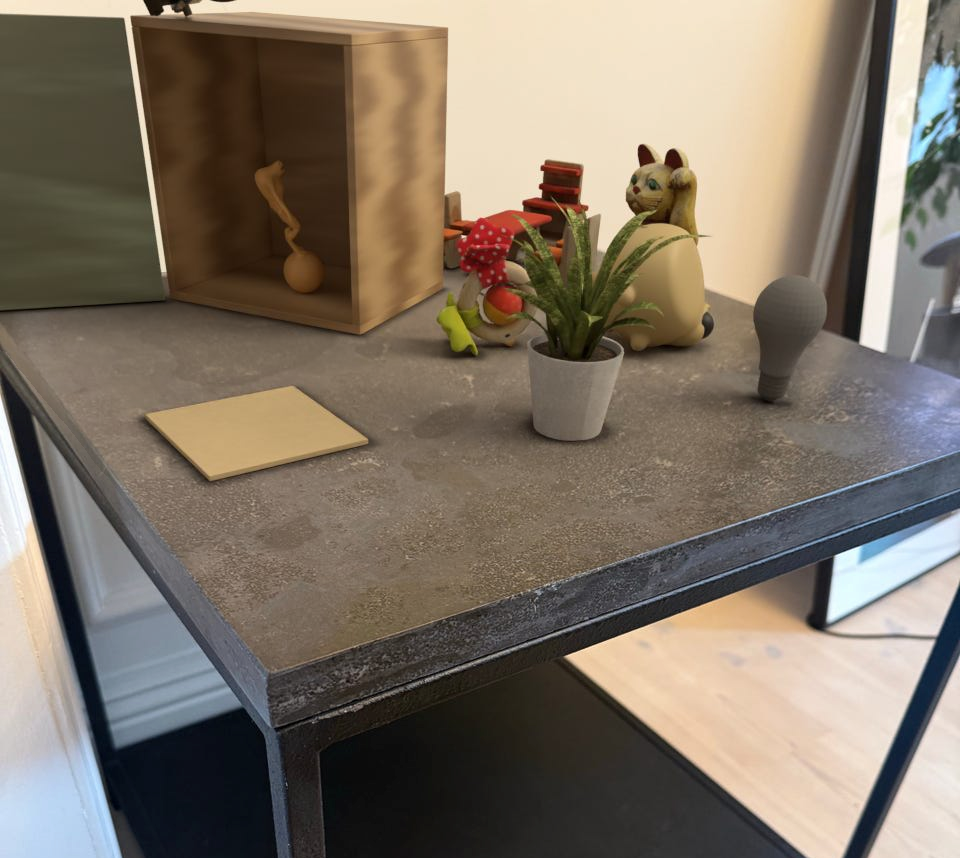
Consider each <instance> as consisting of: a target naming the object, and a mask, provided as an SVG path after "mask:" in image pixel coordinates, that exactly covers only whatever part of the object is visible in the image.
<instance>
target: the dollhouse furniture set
mask: <svg viewBox="0 0 960 858" xmlns="http://www.w3.org/2000/svg"><path fill="white" fill-rule="evenodd" d="M543 163H544V164H541V165H540V169H539V171H540V172H543V173H542V182H541V183H539V184H538V190H539V191H541V196H540V197H538V196H535V197H531V198H527V199H523V200H522V202H521V204H522V206H523V207H522V210H523V211H522V210H515V209H507V210H504V211H501V212H498V213H495V214H491V215H488V216H485V217H483V218H484V219H486V220H487V221H488V222H490V223H491V224H492V225H494V226H496V227H508V228H510V229H511V230H512V231H513V232H514V238H513V239H514V240H516V241H518V242H520V243H522V244H523V245H524V241H526V242H527V243H529V244H530V245H531V246H532V248H533V250H534V253H535V255H536V256H537V258H538V259H539V260H540V261H541V262H542V259H541V257H540V254H539V252H538V250H537V248H536V246H535V244H534V242H533V241H532V239H531V237H530V235H529V234H528V232H527V231H526V229H525V228H524V227H523V225H522V224H521V223H520V222H519V220H518V219H517V218H515V217H514V216H513V215H512V214H515V215H517V216H519V217H521V218H523V219H524V220H525V221H527V222H528V223H529V224H530V225H531V226H532V227H533V228H534V229H535V230H536V231H537V232H538V233H539V234H540V235H541V237H542V238H543V239H544V240H545V242H546V243H547V245H548V247H549V248H550V250H551V252H552V254H553V256H554V258H555V260H556V263H557V266H558V268H559V271H560V274H561V277H562V280H563V284H564V286H565V289H566V290H567V291H568V292H569V288H568V280H567V269H568V265H569V262H570V260H571V258H572V257H574V256H575V251H576V243H575V238H574V235H573V231H572V228H571V225H570V223H569V221H568V219H567V218H566V216H565V215H564V213H563V212H562V211H561V209H560V208H559V207H558V205H557V204H556V203H555V201H556V202H557V203H558V204H559V206H560V207H561V208H562V209H563V210H564V212H565V213H566V214H567V216H568V217H569V219H570V216H569V214H568V212H567V208H566V205H567V206H568V207H570V208H572V209H573V210H574V211H575V212H576V214H577V215H578V216H579V217H580V218H581V219H582V220H583V222H584V217H583V213H582V209H581V206H580V203H581V197H582V191H583V177H584V169H585V167H584V164H583V163H579V162H578V163H576V162H571V161H563V160H555V159H548V158H547V159H545V160H544V162H543ZM552 198H553V199H554V200H555V201H554V200H553V199H552ZM578 200H579V201H580V203H579V201H578ZM581 205H582V206H583V208H584V211H585V212H588V211H589V205H587V204H582V203H581ZM510 212H511V213H512V214H511V213H510ZM601 219H602V214H601V213H597V214H595V215H593V216H590V217H587V221H588V227H589V236H590V243H591V271H592V273H593V272H594V271H597V270H598V244H599V236H600V228H601ZM570 220H571V219H570ZM476 221H477V220H468V219H463V217H462V194H461V192H459V191H458V190H457V191H456V190H455V191H453V192H449V193H445V204H444V250H443V254H444V256H445V263H446V267H447V268H448V269H451V270H452V269H454V268H457V267H460V261H461V258H462V257H461V256H460V254H459V253H458V251H457V248H456V246H457V241H458V240H459V239H462V238H463V237H462V236H464V237H467V236H468V235H469V234H470V233H471V231H472V228H473V226H474V224H475V222H476ZM514 240H513V241H512V244H511V246H510V249H509V253H508V255H507V256H506V258H505V260H507V261H511V262H516V261H519V257H520V251H521V248H522V247H521V246H520V244H519V243H517V242H516V241H514ZM523 240H524V241H523ZM542 264H543V262H542ZM543 265H544V264H543ZM470 273H471V272H470ZM470 273H469V274H470Z"/></svg>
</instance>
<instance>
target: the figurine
mask: <svg viewBox="0 0 960 858" xmlns="http://www.w3.org/2000/svg"><path fill="white" fill-rule="evenodd" d="M282 166H283V164H282V162H280V161H275V162H274V163H273V164H272V165H270V166H269V167H265V168H261V169H259V170H257V172H256V173H255V182H256V184H257V186H258V188H259V190H260V191H261V193H262V194H263V195H264V197H265V198H266V199H267V200H268V202H269V205H270V207H271V208H273V209H274V211H275V212H276V213H278V215H279V216H280V218H281V219H282V221H284V222H285V223H287V224H288V225H289V227H287V228H286V229H285V239H286V241H287V242H288V243H289V245H290V246H291V248H292V249H293V253H292V254H291V255H289V257H288V258H287V259H286V261H285V264H284V276H285V279H286V281H287V283H288V284H289V285H290V286H291V287H292V288H293V289H294V290H296V291H298V292H302V293H309V292H312V291H314V290H316V289H317V288H318V287H319V286H320V285H321V283H322V281H323V278H324V267H323V264H322V262H321V260H320V259H319V258H318V257H317V256H316V255H315V254H314V253H312V252H310V251H307V250H304V249H303V248H302V247H299V246H297V245H296V244H295V243H294V242H293V241H292V240H293V239H294V238H295V236H296V235H297V233H298V232H299V231H300V227H301V224H300V222H299V221H298V220H297V218H296V217H295V216H294V215H293V214H292V213H291V212H290V210H288V208H287V207H286V205H285V204H284V201H283V191H284V186H283V182H282V179H281V175H282V174H283V173H284V171H285V169H284V168H283V169H281V167H282Z"/></svg>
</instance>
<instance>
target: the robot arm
mask: <svg viewBox="0 0 960 858" xmlns="http://www.w3.org/2000/svg"><path fill="white" fill-rule="evenodd" d="M142 1H143V4H144V5H145V7H146V10H147V11H148V14H149V15H151V16H159V15H162V14H163V13H164V12H165V9H164V7H165V6H170V9H171V11H173V12H174V14H181V13H182V14H184V15H185V17H186V16H189V15H192V14H193V11H192V9H191V6H190V5H195V4H200V3H201V2H202V1H203V0H142ZM210 1H211V2H215V3H230V2H234V1H235V2H236V0H210Z"/></svg>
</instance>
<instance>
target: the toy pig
mask: <svg viewBox="0 0 960 858" xmlns="http://www.w3.org/2000/svg"><path fill="white" fill-rule="evenodd" d="M643 227H646V228H638V229H636V231H635V232H634V233H633V234H632V235H631V237H630V238H629V240H628V241H627V243H626V244H625V245H624V247H623V249H622V251H621V252H620V254H619V256H618V258H617V260H616V262H615V263H614V265H613V267H612V270H611V273H610V276H609V278H608V281H609V279H610V277H611V276H612V274H613V272H614V271H615V269H616V268H617V267H618V266H619V264H620V263H621V262H622V261H623V260H624V259H625V258H626V257H628V255H629V254H630V253H631V252H632V251H633V250H634V249H635V248H636V247H637V246H638V245H639V244H642V243H644V242H646V241H647V240H649V239H651V238H654V237H663V238H662V239H659V240H657V241H655V242H654V243H653V244H652V245H651V246H650V247H649V249H648V250H647V251H646V252H645V253H644V254H643V255H642V256H641V257H643V256H645V255H646V254H647V253H648V252H649V251H650V250H651V249H653V248H654V247H655V246H656V245H658V244H660V243H662V242H663V241H665V240H667V239H670V238H673V237H676V236H680V235H690V234H689V233H688V232H687V231H686V230H684V229H682V228H680V227H678V226H675V225H671V224H663V223H657V224H648V225H644V226H643ZM604 257H605V255H604V256H603V258H602V260H601V262H600V265H599V267H598V268H597V271H594V272H593V273H592V288H593V285H594V283H595V280H596V277H597V275H598V273H599V270H600V268H601V265H602V263H603V260H604ZM701 260H702V259H701V257H700V253H699V249H698V245H697V246H696V244H695V241H694V239H693V238H684V239H681V240H677V241H675V242H673V243H671V244H668V245H666V246H665V247H663V248H661V249H660V250H658V251H656V252H655V253H653V254H652V255H651V256H650V257H649V258H648V259H646V260H645V261H644V262H643V263H642V264H641V265H640V266H639V267H638V268H637V269H636V271H635V272H634V273H633V274H632V275H635V274H641V273H644V274H643V275H641V276H639V277H637V278H635V279H634V280H633V282H632V283H631V284H630V286H629V287H628V288H627V289H626V290H625V291H624V293H623V294H622V295H621V296H620V298H619V299H618V301H617V302H616V304H615V305H614V307H613V309H612V310H611V312H610V314H609V317H608V319H607V321H606V323H605V326H604V327H606V326H607V325H609V324H610V323H611V322H612V321H613V320H614V318H615V317H616V316H617V315H618V314H619V313H620V312H622V311H623V310H624V309H626V308H627V307H629V306H631V305H634V304H636V303H640V302H651V303H654V304H655V305H657V306H658V307H659V309H660V310H661V312H662V314H663V315H662V314H661V313H660V312H659V311H658V310H654V309H647V308H645V309H637V310H633V311H630V312H627V313H625V314H624V315H622V316H621V317H620V318H618V319H617V320H616V321H618V320H621V319H624V318H631V317H636V318H641V319H644V320H647V321H648V322H649V323H650V324H651V325H652V326H653V327H654V328H652V327H649V326H646V325H625V326H618V327H614V328H610V329H608V330H607V332H606V333H607V334H611V333H613V332H615V333H616V334H617V335H618V336H619V337H620V338H621V339H623V340H624V341H626V342H628V343H630V346H631V348H632V349H633V351H638V352H640V351H643V350H644V349H646V348H649V347H650V348H652V347H659V346H662V345H663V346H664V345H666V346H675V347H689V346H690V347H691V346H693V345H695V344H698V343H699V342H700V341H701V340H704V339H706V338H708V337H709V336H710V335H711V334H712V332H713V330H714V328H715V322H714V318H713V316H712V315H711V313H709V310H711V305H710V304H709V303H707V302H706V296H705V295H706V294H705V278H704V272H703V264H702V261H701ZM627 262H628V261H627ZM627 262H626V263H627ZM626 263H625V264H624V266H625V265H626ZM624 266H623V267H622V268H621V269H620V270H619V272H621V271H622V270H623V268H624ZM619 272H618V273H619ZM618 273H617V274H618ZM632 275H631V276H632ZM608 281H607V283H608ZM607 283H606V285H607ZM606 333H605V334H606Z"/></svg>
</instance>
